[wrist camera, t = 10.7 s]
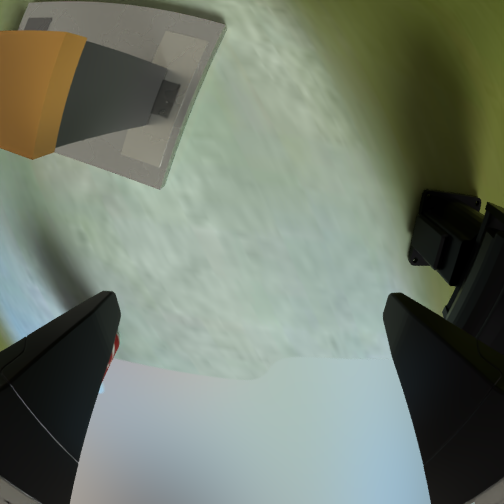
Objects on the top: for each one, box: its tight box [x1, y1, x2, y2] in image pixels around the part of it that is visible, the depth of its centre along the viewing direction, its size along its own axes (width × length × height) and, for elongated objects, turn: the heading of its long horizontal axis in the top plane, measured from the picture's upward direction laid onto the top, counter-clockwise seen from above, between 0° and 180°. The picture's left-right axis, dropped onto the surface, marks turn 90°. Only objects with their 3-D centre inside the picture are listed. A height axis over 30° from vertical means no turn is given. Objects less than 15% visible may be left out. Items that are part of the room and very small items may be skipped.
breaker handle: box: [0, 30, 167, 160], centre depth 11 cm, size 4×4×11 cm
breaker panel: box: [18, 1, 227, 190], centre depth 15 cm, size 18×12×4 cm, turn 67°
